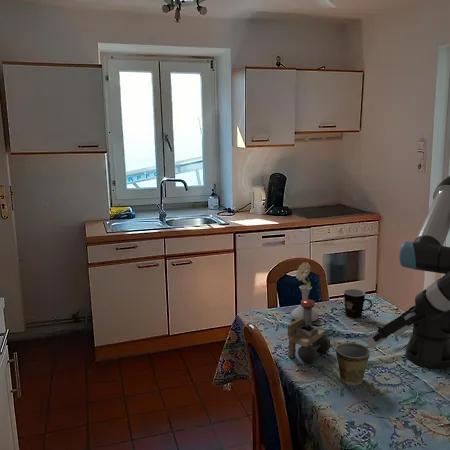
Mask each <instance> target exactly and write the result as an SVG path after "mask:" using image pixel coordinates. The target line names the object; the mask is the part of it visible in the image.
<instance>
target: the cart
mask: <svg viewBox="0 0 450 450" xmlns="http://www.w3.org/2000/svg"><path fill="white" fill-rule="evenodd" d="M287 337H288V357H290V358H292V359H294V358H295V357H296V346H297V345H298V346H299V348H298V350H297V355H298V358H299V360H300V361H302V363H305V364H311V363H313V362H314V361H316V360H317V358H318V354H320V355H321V354H325V353H327V352H328V351H329V350H330V349H331V344H332V343H331V341H330V339H329V338H328V336H326V330H324V329H322V328H321V329H320V328H319V327H317V326H314V325H311V331H306V330H303V317H301V318H299V319H298V320H294V321H293V322H291V323H289V324H287Z"/></svg>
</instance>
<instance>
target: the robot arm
mask: <svg viewBox="0 0 450 450" xmlns="http://www.w3.org/2000/svg"><path fill="white" fill-rule="evenodd" d="M432 199H433V201H432V203H431V206H430V208H429V210H428V212H427V214H426V216H425V218H424V220H423V222H422V224H421V225H420V228H419V231H418V232H417V235H416V237H415V239H414V241H404V242H403V243H402V244H401V245H400V248H399V254H398V255H399V263H400V265H401V267H403V268H407V269H411V270H414V271H415V270H416V271H422V272H429V273H430V272H431V273H436V274H437V273H438V274H441V275H442V274H443V276H441V277H440V278H438V279H436V280H435V281H434V282H432V284H430V285H429V286H427V287H426V288H425V289H424V290H422V291H420V292H418V293H417V294H416V295H415V299H414V305H413V306H411V307H409V308H408V310H406V311H405V312H403V313H401V314H400V315H399V316H398V317H396V318H394V319H393V320H391V321H390V322H388V323H386V324H385V325H384V326H382V327H381V325H380V326H377V331H376V332H375V333H373V334H372V335H370V336H369V337H368V338H366V339H365V340H364V341H365V343H366V344H367V345H368V347H369V350H370V349H373V348H375V347H376V346H377V345H379V344H381V343H382V342H383V341H385V340H386V339H387V338H389V336H391V335H393V334H394V336H395V337H396V338H397V337H400V336H401V335H402V334H404V333H406V332H407V331H408V330H409V329H411V328H412V334H411V336H410V338H409V340H408V342H407V343H406V347H405V354H404V355H405V357H406V359H407V360H409V361H410V362H412V363H414V364H416V365H418V366H420V367H423V368H429V369H436V370H439V369H440V370H441V369H442V370H443V369H444V370H445V369H448V368H450V246H444V244H445V242H446V239H447V236H448V235H449V232H450V175H448V176H447V177H445V178H444V179H443V180H442V181H441V182H439V184H438V185H437V186H436V187H435V190H434V192H433V194H432Z"/></svg>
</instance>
